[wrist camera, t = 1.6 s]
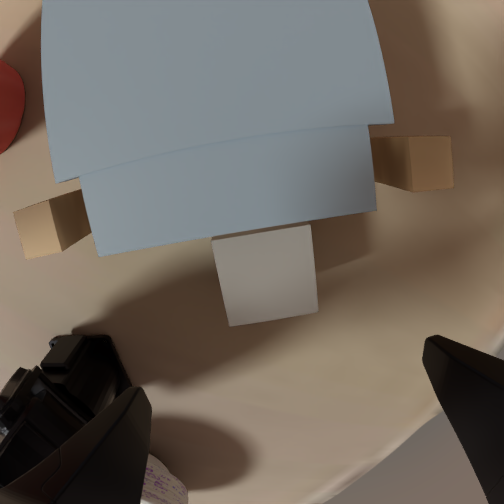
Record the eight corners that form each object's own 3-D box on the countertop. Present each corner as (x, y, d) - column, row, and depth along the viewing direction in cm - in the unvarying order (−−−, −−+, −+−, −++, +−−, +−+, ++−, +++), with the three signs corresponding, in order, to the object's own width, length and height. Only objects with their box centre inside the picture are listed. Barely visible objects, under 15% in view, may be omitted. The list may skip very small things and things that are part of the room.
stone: (302, 277, 22) (318, 312, 17) (231, 289, 22) (229, 326, 17) (293, 206, 20) (310, 224, 16) (217, 219, 21) (210, 240, 16)
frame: (363, 167, 20) (453, 188, 10) (111, 210, 20) (26, 259, 10) (359, 138, 19) (450, 136, 10) (105, 181, 19) (13, 212, 10)
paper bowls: (191, 499, 32) (187, 547, 24) (83, 475, 30) (69, 518, 23) (192, 438, 27) (185, 503, 19) (55, 406, 26) (26, 458, 18)
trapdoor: (370, 194, 13) (402, 207, 10) (105, 239, 13) (76, 261, 10) (318, -56, 9) (332, -89, 6) (74, -9, 9) (45, -32, 6)
